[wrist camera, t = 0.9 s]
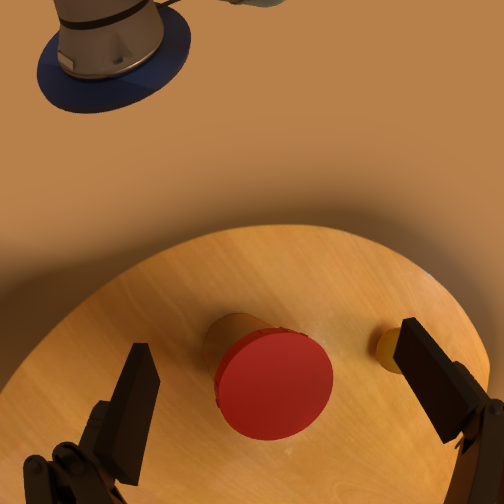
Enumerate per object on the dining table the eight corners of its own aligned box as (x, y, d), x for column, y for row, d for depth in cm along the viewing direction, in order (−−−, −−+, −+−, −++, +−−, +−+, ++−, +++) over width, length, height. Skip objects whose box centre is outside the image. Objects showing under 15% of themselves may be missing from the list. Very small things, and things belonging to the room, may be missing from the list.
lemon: (356, 348, 32) (400, 363, 25) (383, 314, 34) (429, 321, 26) (376, 373, 33) (419, 390, 25) (401, 341, 34) (445, 352, 27)
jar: (216, 303, 28) (244, 322, 17) (281, 324, 30) (339, 349, 19) (193, 369, 27) (208, 423, 16) (258, 386, 29) (303, 438, 18)
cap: (236, 312, 19) (242, 316, 17) (335, 342, 20) (348, 347, 19) (199, 417, 17) (202, 430, 16) (299, 434, 19) (308, 445, 17)
